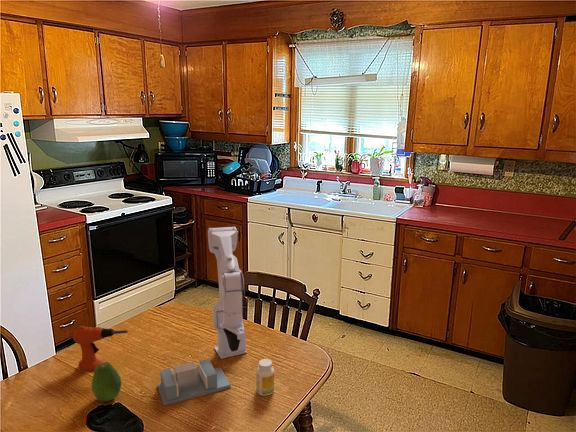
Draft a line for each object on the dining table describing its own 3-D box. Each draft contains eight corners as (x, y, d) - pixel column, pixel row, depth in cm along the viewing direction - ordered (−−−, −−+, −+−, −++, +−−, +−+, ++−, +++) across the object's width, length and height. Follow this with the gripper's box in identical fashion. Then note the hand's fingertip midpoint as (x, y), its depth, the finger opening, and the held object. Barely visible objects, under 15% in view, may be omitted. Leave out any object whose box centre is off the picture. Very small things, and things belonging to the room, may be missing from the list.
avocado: (87, 403, 125) (83, 366, 122) (108, 388, 132) (104, 352, 129) (108, 411, 122) (104, 373, 119) (128, 394, 129) (125, 358, 126)
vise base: (220, 370, 142) (220, 355, 140) (230, 387, 133) (230, 371, 132) (157, 386, 133) (156, 370, 132) (163, 406, 124) (162, 389, 123)
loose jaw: (209, 371, 139) (208, 358, 138) (217, 386, 132) (216, 373, 130) (198, 373, 138) (197, 361, 137) (206, 389, 130) (205, 376, 129)
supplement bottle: (253, 392, 131) (252, 364, 128) (262, 383, 135) (262, 355, 133) (268, 398, 128) (268, 369, 126) (277, 388, 133) (277, 360, 130)
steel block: (194, 379, 135) (193, 361, 133) (198, 387, 131) (197, 367, 130) (175, 385, 132) (174, 366, 131) (178, 392, 129) (176, 373, 127)
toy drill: (131, 369, 139) (122, 326, 136) (76, 372, 141) (65, 330, 138) (138, 360, 144) (128, 319, 141) (84, 364, 146) (74, 323, 143)
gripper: (213, 302, 138) (214, 341, 141) (227, 322, 125) (229, 364, 128) (234, 298, 141) (235, 336, 144) (250, 317, 128) (251, 358, 131)
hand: (233, 349), depth 136 cm, fingers closed
